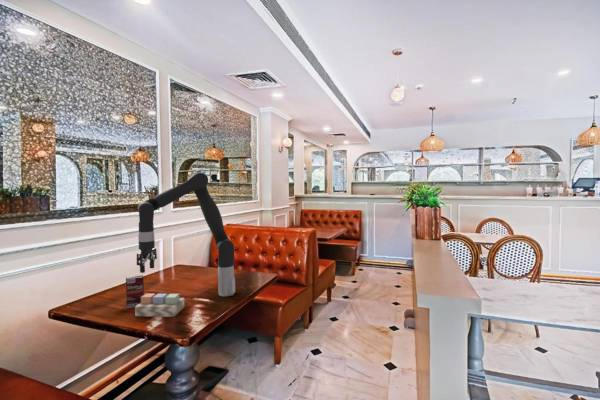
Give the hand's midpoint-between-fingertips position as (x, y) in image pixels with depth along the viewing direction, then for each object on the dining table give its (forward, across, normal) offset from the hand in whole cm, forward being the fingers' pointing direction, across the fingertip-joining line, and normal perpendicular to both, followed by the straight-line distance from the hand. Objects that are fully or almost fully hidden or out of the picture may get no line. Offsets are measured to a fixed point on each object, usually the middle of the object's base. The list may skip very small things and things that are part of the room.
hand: (147, 270), depth 159 cm
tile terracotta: (+16, -2, -1) cm, 17 cm away
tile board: (+21, -2, -8) cm, 23 cm away
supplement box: (+21, +4, +10) cm, 24 cm away
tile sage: (+16, -2, -14) cm, 22 cm away
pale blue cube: (+16, -2, -8) cm, 18 cm away
